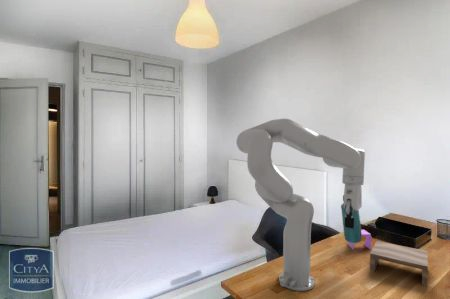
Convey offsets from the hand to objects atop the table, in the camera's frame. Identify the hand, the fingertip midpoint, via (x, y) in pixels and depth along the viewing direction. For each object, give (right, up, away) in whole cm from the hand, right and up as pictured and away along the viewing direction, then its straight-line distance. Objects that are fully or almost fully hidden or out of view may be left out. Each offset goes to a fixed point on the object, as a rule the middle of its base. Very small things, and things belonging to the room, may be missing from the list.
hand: (350, 225), depth 105 cm
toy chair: (+15, -17, +23) cm, 32 cm away
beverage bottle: (+2, -8, +2) cm, 8 cm away
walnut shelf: (+19, -18, +1) cm, 26 cm away
